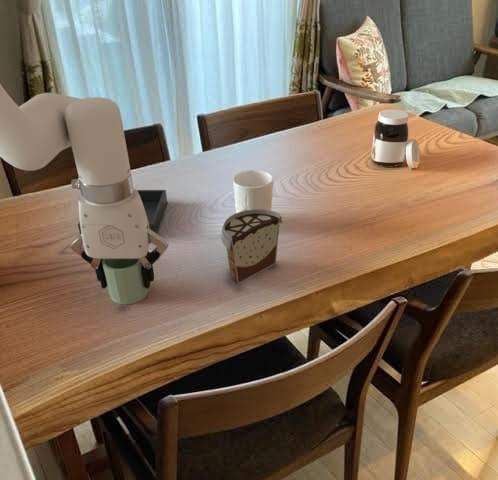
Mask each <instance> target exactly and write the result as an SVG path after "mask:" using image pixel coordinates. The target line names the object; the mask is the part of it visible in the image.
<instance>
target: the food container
mask: <svg viewBox="0 0 498 480" xmlns="http://www.w3.org/2000/svg"><path fill="white" fill-rule="evenodd" d="M280 224H283V218H282V216H281V213H280V212H278V211H274V210H271V211H270V210H263V209H253V210H246V211H241V212H238V213H236V212H235V213H234V214H232V215H230V216H229V217H227V219H225V221H224V223H223V225H222V228H221V233H220V240H221V242H222V244H223V245H224V246H225V248H226V253H227V254H226V255H227V260H228V267H229V274H230V277H231V280H232V281H233V282H234V283H235V284H236V285H240V284H242V283H244V282H246V281H248V280H249V279H251V278H253V277H255V276H257V275H259V274H260V273H262V272H264V271H266V270H268V269H270V268H272V267H273V266H275V265H276V264H277V258H278V257H277V255H278V248H279V247H278V245H279V235H280Z"/></svg>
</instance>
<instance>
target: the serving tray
mask: <svg viewBox="0 0 498 480" xmlns="http://www.w3.org/2000/svg"><path fill="white" fill-rule="evenodd" d="M136 190H137V191H138V193H139V195H140V198H141V200H142V203H143V206H144V209H145V212H146V215H147V219H148V223H149V228H150V230H152V231H153V232H155V233H156V234H159V230H160V227H161V224H162V221H163V218H164V215H165V211H166V208H167V206H168V195H167V190H166V189H136ZM77 226H78V231H79V235H80V234H81V227H80V221H79V222H78V224H77Z"/></svg>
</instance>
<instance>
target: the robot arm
mask: <svg viewBox="0 0 498 480" xmlns="http://www.w3.org/2000/svg"><path fill="white" fill-rule="evenodd" d="M124 130H125V129H124V124H123V119H122V113H121V110H120V107H119V106H118V104H117V102H115V101H114V100H112V99H110V98H106V97H99V96H94V97H93V96H92V97H86V98H85V97H84V98H80V97H74V96H69V95H65V94H60V93H55V92H43V93H39V94H35V96H33V97H31V98H30V99H29V100H27V101H26V102H24V103H22V104H21V105H20V106H19V105H18V104H17V103H16V102H15V101H14V99H13V98H12V97H11V96H10V95H9V94H8V92H7V91H6V90H5V89H4V87H3V86H2V84H1V83H0V158H1V159H2V160H3V161H4V162H6V163H8V164H9V165H11V166H12V167H14V168H16V169H19V170H22V171H25V172H26V171H27V172H30V171H33V172H34V171H37V170H41V169H43V168H44V167H46V166H47V165H49V163H51V162H52V160H54V159H55V158H56V157H57V156H58V155H59V154H60V152H62V151H64V150H66V149H68V148H71V150H72V154H73V159H74V162H75V166H76V171H77V175H78V178H76V179H71V187H72V189H77V190H79V191H80V196H79V197H78V215H79V222H80V227H81V234H80V233H79V235H77V237H76V238H75V239H74V240H73V241H72V242H71V244H70V247H69V248H70V249H71V250H72V251H73V252H75V253H76V254H77V255H79V256H80V257H81V259H83V260H84V261H86V262H87V263H89V264H90V267H91V268H92V269H94V271H95V276H96V279H97V281H98V282H100V286H101V289H106V288H107V289H108V286H107V282H106V278H105V273H104V269H103V265H102V260H103V259H137V258H138V259H139V260H140V262H141V263H142V265H143V267H142V276H143V282H144V287H145V288H148V289H150V287H151V283H152V282H154V281H155V272H154V271H155V270H154V266H153V265H154V264H155V263H156V262H157V261H158V260H159V259H160V257H161V256H162V255H163V254H164V253H165V252H166V251H167V250H168V248H169V242H168V240H166V239H165V238H163V237H162V236H161V235H159V233H157V234H156V233H155V232H153V231H152V230H150V228H149V223H148V219H147V215H146V212H145V209H144V206H143V203H142V200H141V198H140V195H139V193H138V191H137V190H138V189H135V188H134V182H133V176H132V172H131V164H130V159H129V153H128V148H127V143H126V137H125V131H124ZM150 244H152V245H154V246H156V247H155V248H154V249H153V250H152V251H151V250H150V249H149V247H150Z"/></svg>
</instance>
